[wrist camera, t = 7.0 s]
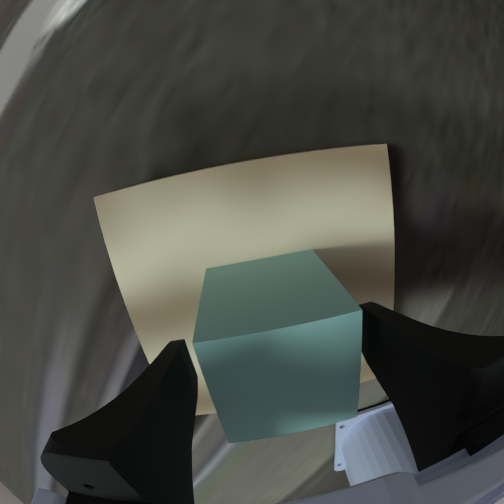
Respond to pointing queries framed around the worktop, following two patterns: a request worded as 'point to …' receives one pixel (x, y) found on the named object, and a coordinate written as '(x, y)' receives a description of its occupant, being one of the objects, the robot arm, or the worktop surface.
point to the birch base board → (248, 234)
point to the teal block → (278, 346)
